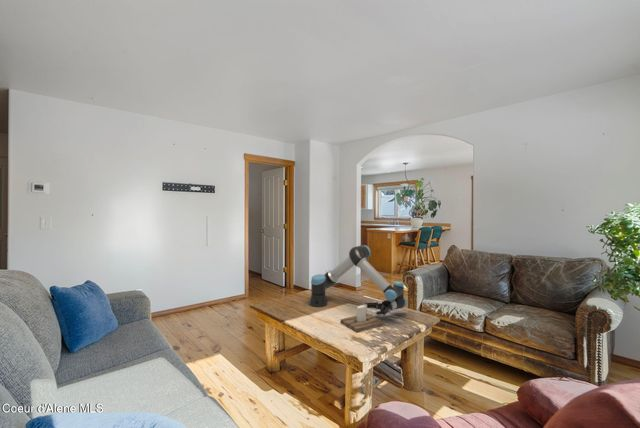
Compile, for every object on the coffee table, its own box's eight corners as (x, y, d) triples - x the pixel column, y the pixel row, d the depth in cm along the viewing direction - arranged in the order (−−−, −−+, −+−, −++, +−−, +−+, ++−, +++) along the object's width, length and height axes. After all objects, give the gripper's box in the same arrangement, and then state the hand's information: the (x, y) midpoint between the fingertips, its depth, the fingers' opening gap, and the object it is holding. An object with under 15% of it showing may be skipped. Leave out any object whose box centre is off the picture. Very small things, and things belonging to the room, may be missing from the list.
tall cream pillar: (356, 324, 196) (356, 306, 196) (363, 322, 199) (363, 305, 199) (359, 325, 194) (359, 308, 194) (366, 323, 197) (366, 306, 197)
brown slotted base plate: (340, 322, 199) (340, 319, 199) (365, 316, 210) (365, 313, 210) (356, 332, 183) (356, 328, 183) (382, 325, 194) (382, 321, 194)
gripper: (401, 316, 198) (378, 322, 187) (377, 305, 219) (354, 310, 208) (401, 305, 197) (378, 310, 187) (377, 295, 219) (354, 300, 208)
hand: (365, 310), depth 198 cm, fingers open, 13 cm apart
